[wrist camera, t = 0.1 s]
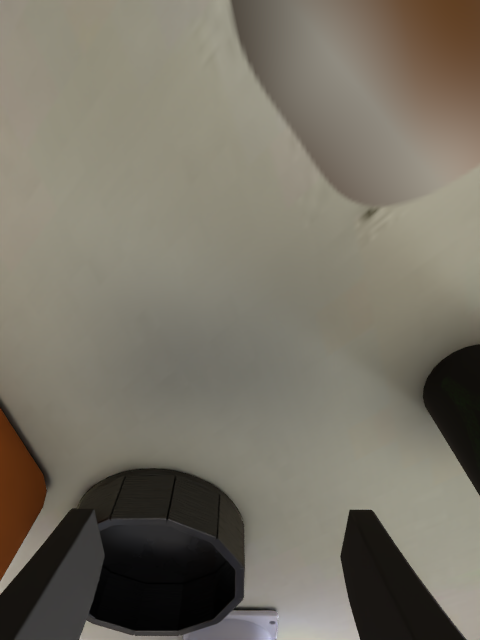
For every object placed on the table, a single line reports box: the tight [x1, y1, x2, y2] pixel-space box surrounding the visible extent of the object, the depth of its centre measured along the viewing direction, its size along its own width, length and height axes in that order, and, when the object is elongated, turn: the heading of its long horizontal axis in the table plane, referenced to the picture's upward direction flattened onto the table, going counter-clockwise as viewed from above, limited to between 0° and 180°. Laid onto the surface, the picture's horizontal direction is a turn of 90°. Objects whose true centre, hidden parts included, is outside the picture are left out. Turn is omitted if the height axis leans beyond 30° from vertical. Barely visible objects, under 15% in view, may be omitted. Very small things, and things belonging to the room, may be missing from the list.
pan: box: [77, 469, 245, 636], centre depth 24 cm, size 19×12×4 cm, turn 119°
